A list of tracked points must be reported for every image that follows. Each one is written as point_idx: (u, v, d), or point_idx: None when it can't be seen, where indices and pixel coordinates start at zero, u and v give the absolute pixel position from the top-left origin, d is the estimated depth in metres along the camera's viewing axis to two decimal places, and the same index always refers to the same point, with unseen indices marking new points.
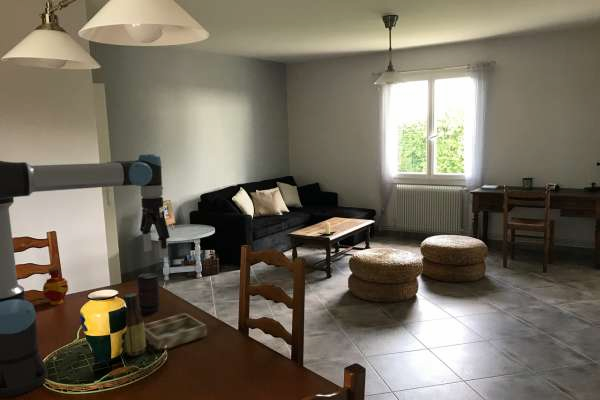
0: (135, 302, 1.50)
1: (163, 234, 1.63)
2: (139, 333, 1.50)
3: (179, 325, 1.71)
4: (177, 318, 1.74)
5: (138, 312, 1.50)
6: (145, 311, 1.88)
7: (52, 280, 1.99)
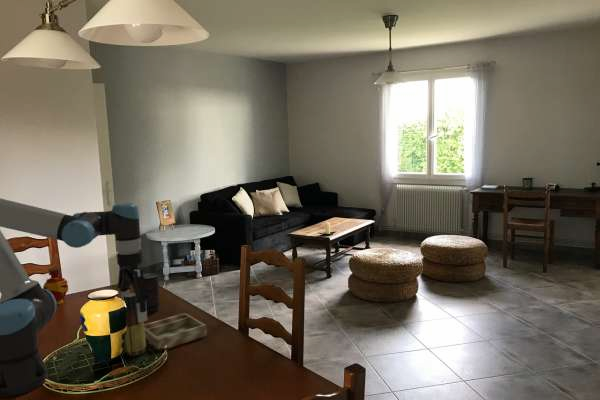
0: (135, 302, 1.50)
1: (141, 296, 1.43)
2: (139, 333, 1.50)
3: (179, 325, 1.71)
4: (177, 318, 1.74)
5: None
6: None
7: (52, 280, 2.00)
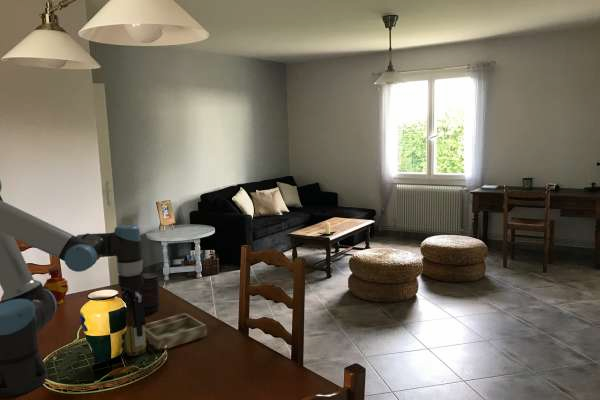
0: None
1: (139, 322, 1.46)
2: None
3: (179, 325, 1.71)
4: (177, 318, 1.74)
5: None
6: (145, 311, 1.88)
7: (52, 280, 2.00)
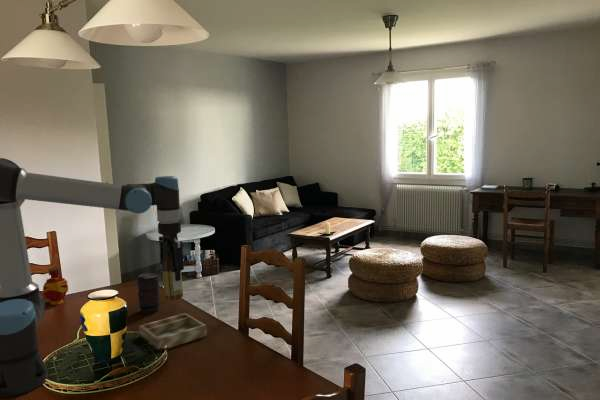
0: None
1: (178, 267, 1.55)
2: None
3: (179, 325, 1.71)
4: (177, 318, 1.74)
5: None
6: (145, 311, 1.88)
7: (52, 280, 2.00)
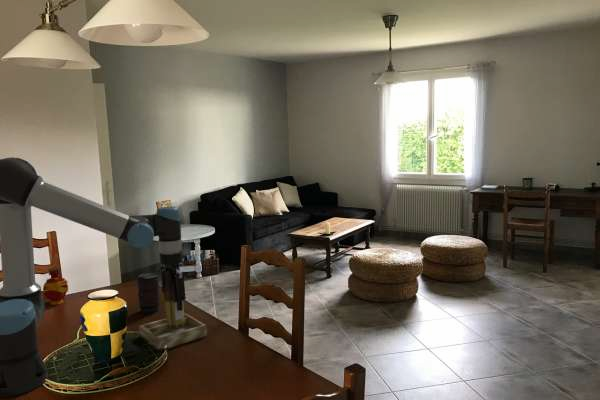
0: None
1: (179, 297, 1.57)
2: None
3: None
4: None
5: None
6: (145, 311, 1.88)
7: (52, 280, 2.00)
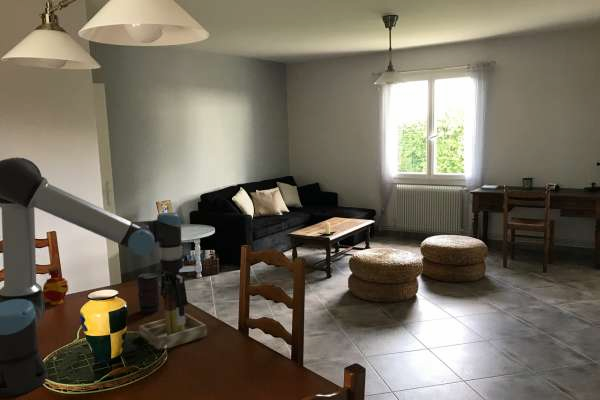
0: None
1: (181, 302, 1.56)
2: None
3: None
4: None
5: None
6: (145, 311, 1.88)
7: (52, 280, 2.00)
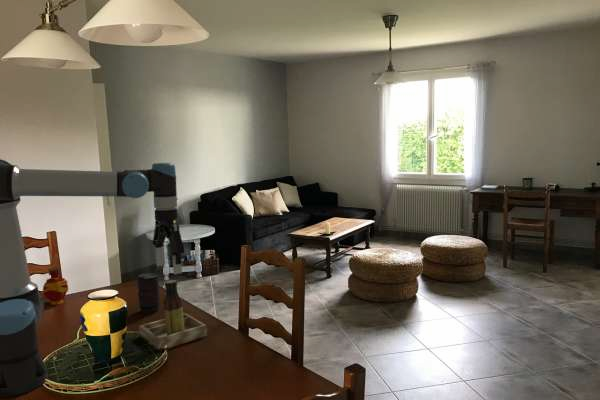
0: (175, 288, 1.61)
1: (178, 249, 1.52)
2: (178, 316, 1.61)
3: None
4: None
5: (178, 297, 1.62)
6: (145, 311, 1.88)
7: (52, 280, 2.00)
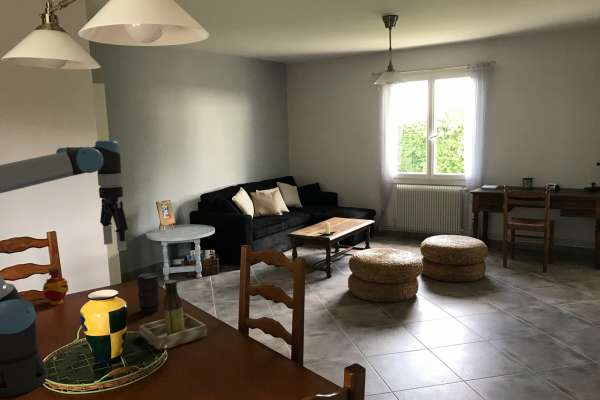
0: (175, 288, 1.61)
1: (120, 225, 1.53)
2: (178, 316, 1.61)
3: None
4: None
5: (178, 297, 1.62)
6: (145, 311, 1.88)
7: (52, 280, 2.00)
